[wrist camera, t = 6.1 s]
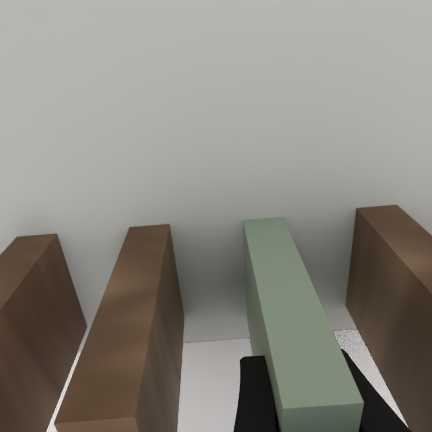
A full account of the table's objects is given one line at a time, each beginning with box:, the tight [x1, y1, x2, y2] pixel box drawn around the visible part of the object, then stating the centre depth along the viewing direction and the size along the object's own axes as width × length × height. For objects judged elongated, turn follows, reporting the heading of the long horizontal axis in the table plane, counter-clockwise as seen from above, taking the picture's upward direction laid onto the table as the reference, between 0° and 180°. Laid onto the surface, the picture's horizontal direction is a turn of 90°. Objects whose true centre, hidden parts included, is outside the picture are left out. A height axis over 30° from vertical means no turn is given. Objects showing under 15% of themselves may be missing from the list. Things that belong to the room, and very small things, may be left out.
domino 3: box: [345, 205, 432, 432], centre depth 12 cm, size 2×5×8 cm, turn 5°
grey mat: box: [0, 0, 432, 352], centre depth 14 cm, size 32×16×1 cm, turn 94°
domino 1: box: [0, 233, 87, 432], centre depth 12 cm, size 2×5×8 cm, turn 4°
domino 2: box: [54, 224, 185, 432], centre depth 12 cm, size 2×5×8 cm, turn 4°
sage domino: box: [243, 217, 364, 432], centre depth 12 cm, size 2×5×8 cm, turn 4°
